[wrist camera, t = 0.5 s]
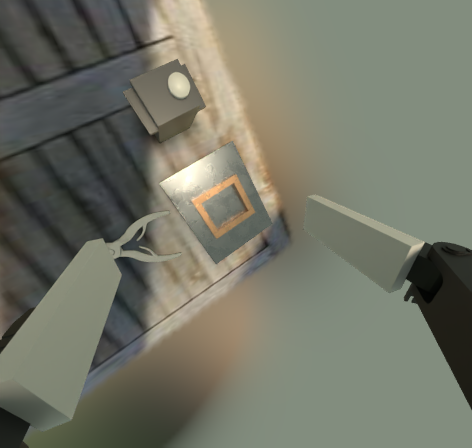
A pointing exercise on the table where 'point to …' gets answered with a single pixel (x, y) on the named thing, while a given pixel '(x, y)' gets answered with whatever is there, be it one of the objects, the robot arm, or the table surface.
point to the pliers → (116, 245)
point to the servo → (165, 100)
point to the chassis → (218, 201)
